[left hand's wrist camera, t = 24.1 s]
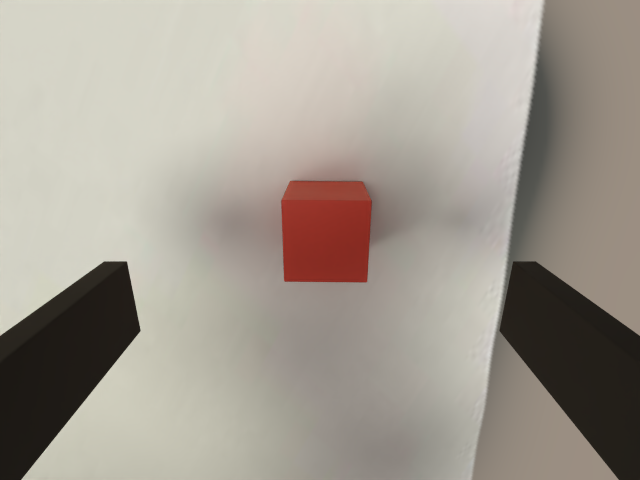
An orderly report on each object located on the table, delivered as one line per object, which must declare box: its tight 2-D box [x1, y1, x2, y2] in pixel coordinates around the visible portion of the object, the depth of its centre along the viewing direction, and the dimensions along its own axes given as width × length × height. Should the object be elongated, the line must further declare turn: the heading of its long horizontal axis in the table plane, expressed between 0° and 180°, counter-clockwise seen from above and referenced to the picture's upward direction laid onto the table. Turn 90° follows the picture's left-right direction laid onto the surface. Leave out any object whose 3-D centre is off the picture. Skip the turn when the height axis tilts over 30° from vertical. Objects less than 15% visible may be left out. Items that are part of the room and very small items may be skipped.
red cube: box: [281, 181, 372, 282], centre depth 19 cm, size 4×4×4 cm
